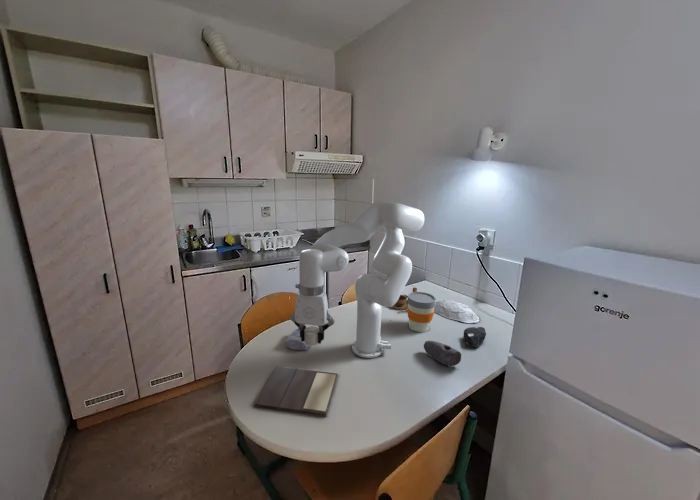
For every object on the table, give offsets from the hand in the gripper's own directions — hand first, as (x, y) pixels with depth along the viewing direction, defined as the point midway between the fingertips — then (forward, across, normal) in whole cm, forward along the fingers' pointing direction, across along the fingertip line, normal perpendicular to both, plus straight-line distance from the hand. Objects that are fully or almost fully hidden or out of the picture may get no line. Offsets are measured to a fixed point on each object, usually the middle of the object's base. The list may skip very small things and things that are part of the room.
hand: (312, 339), depth 98 cm
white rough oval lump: (+15, +56, +63) cm, 86 cm away
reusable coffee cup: (+15, +38, +45) cm, 61 cm away
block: (+16, -12, +21) cm, 29 cm away
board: (+16, -3, -6) cm, 17 cm away
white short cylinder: (0, 0, 0) cm, 0 cm away
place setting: (+15, +32, +68) cm, 76 cm away
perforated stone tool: (+16, +44, +21) cm, 52 cm away
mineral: (+15, +60, +37) cm, 72 cm away
